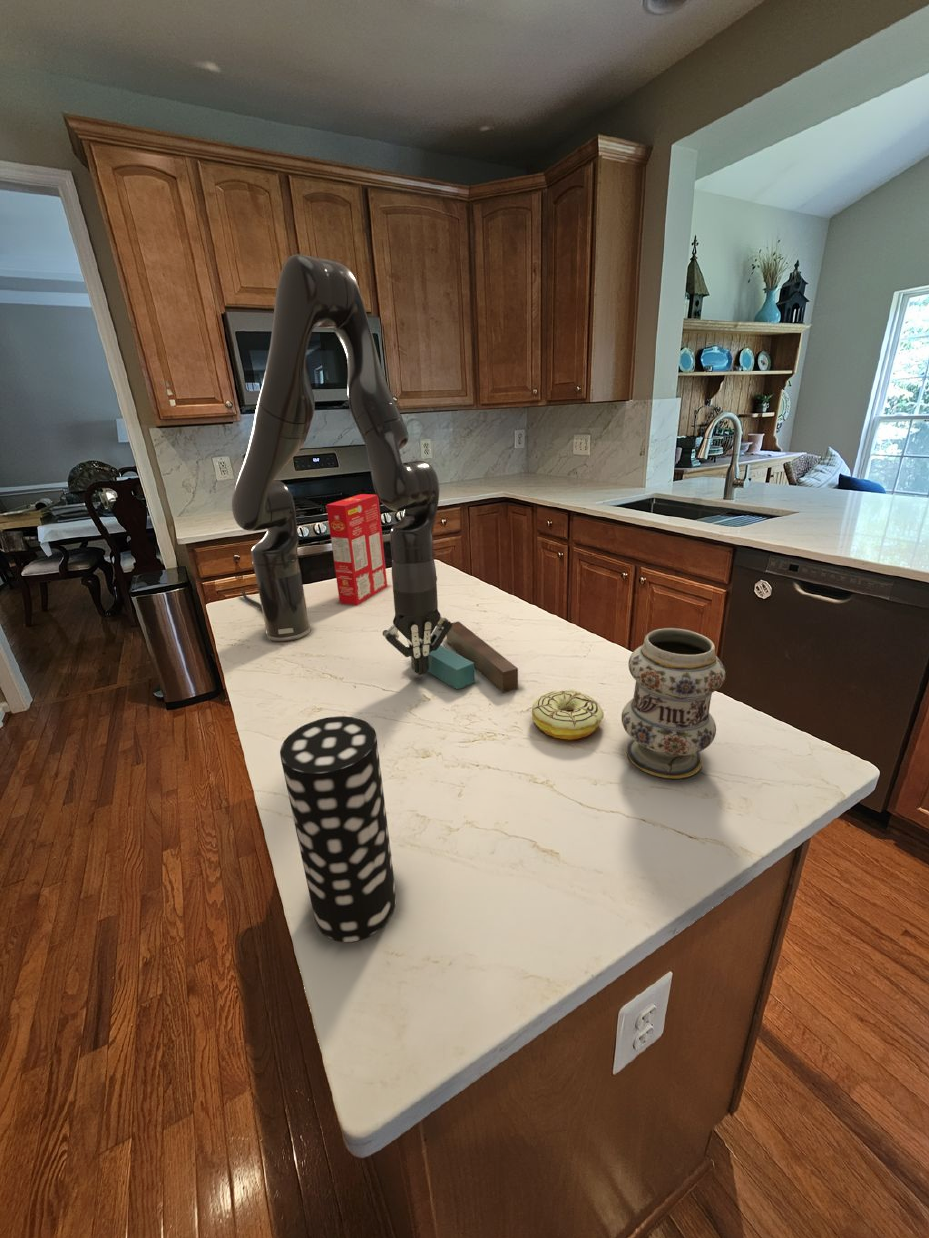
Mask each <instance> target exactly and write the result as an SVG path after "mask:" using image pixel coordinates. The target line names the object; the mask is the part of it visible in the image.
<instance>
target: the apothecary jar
mask: <svg viewBox="0 0 929 1238" xmlns="http://www.w3.org/2000/svg"><path fill="white" fill-rule="evenodd" d="M643 640H644V641H643V644H642V645H640V646H638V647H637V648H636V649H634V651H633V652H631V654H630V656H629V659H628V670H629V673H630V675H631V676H632V678H633V680H635V686H634V690H633V691H634V693H633V697H632V698H631V699H630V700H628V702H627V703H626V704H625V706H624V707H623V709H622V712H621V724H622V727H623V730H624V731H625V732H626V733H627V735H628V736H629V737H630V738H631V739H632V740H631V741H630V742H629V743H628V744H627V748H626V754H627V757H628V759H629V760H630V761H631V763H632V764H633V765H634V766H635V767H636V768H638V769H639V770H641V771H643V772H645V773H647V774H649V775H651V776H653V777H658V778H662V779H670V780H677V779H678V780H679V779H685V778H689V777H691V776H693V775H695V774H697V773H698V772H699V771H700V770H701V768H702V765H703V764H702V763H703V760H702V757H701V755H700V752H702V751H704V750H705V749H707V748H708V747H709V746H711V744H712V743H713V742H714V740H715V737H716V734H717V725H716V722H715V719H714V717H713V716H712V714H711V713H710V707H711V701H712V695H713V693H714V692H716V691H718V690H719V689H720V688H721V687H722V685H723V684H724V683H725V680H726V669H725V666H724V664H723V663H722V661H721V660H720V658H719V657H718V656H717V655H716V646H715V644H714V642H713V641H712V640H711V639H710V638H709V637H707V636H705V635H703V634H700V633H698V632H695V631H693V630H688V629H683V628H675V627H664V628H658V629H654V630H651V631H649V632H647V633H646V635H645V637H644V639H643Z"/></svg>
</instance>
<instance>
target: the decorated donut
mask: <svg viewBox="0 0 929 1238" xmlns="http://www.w3.org/2000/svg"><path fill="white" fill-rule="evenodd" d="M531 714H532V718H533V719H532V720H533V721H534V723H535V725H536V726H537V728H538V729H539V730H540V731H542V732H544V733H545V734H546V735H548V736H550V737H552V738H555V739H560V740H568V741H573V740H578V739H582V738H585V737H589V736H590V735H591V734H593V733H594V732H595V731H596V730H597V729H598V727H600V723H601V721H602V720H603V719H604V716H605V714H604V711H603V709H602V707H601V705H600V703H598V702H597V701H596V699H594V698H592V697H591V696H589V695H588V694H586V693H582V692H580V691H577V690H574V689H573V690H571V689H569V690H558V691H550V692H547V693H546V694H545V693H544V694H543V695H540V696H539V697H538V698H537V699H535V701H534V702H533V703H532V709H531Z"/></svg>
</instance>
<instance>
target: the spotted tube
mask: <svg viewBox="0 0 929 1238" xmlns="http://www.w3.org/2000/svg"><path fill="white" fill-rule="evenodd" d="M379 753H380V752H379V745H378V737H377V732H376V730H375V728H374V727H373V725H372V724H371V723H369V722H368V721H366V720H364V719H362V718H358V717H353V716H346V715H344V716H343V715H341V716H339V715H337V716H329V717H324V718H319V719H315V720H313V721H310V722H308V723H306V724H304V725H301V726H300V727H298V728H297V729H295V730H294V731H292V732H291V733H290V734H288V736H287V737H286V738H285V739H284V741H283V742H282V744H281V746H280V750H279V756H280V762H281V766H282V771H283V775H284V780H285V781H284V782H285V785H286V790H287V795H288V799H289V804H290V808H291V814H292V818H293V819H292V820H293V822H294V829H295V834H296V837H297V842H298V847H299V852H300V856H301V857H300V858H301V860H302V861H301V862H302V866H303V870H304V875H305V881H306V885H307V890H308V895H309V899H310V903H311V909H312V914H313V917H314V922H315V925H316V927H317V929H318V931H320V932H321V934H323V936H325V937H327V938H329V939H331V940H333V941H335V942H340V943H352V942H356V941H362V940H364V939H366V938H369V937H371V936H372V935H374V934H376V933H377V932H379V931H380V930H381V929H383V928H384V926H385V925H386V924H387V923H388V922H389V920H390V919H391V917H392V916H393V914H394V911H395V908H396V906H397V905H396V904H397V892H396V882H395V874H394V867H393V859H392V851H391V843H390V834H389V826H388V819H387V818H388V817H387V809H386V801H385V794H384V785H383V778H382V770H381V761H380V754H379Z"/></svg>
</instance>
